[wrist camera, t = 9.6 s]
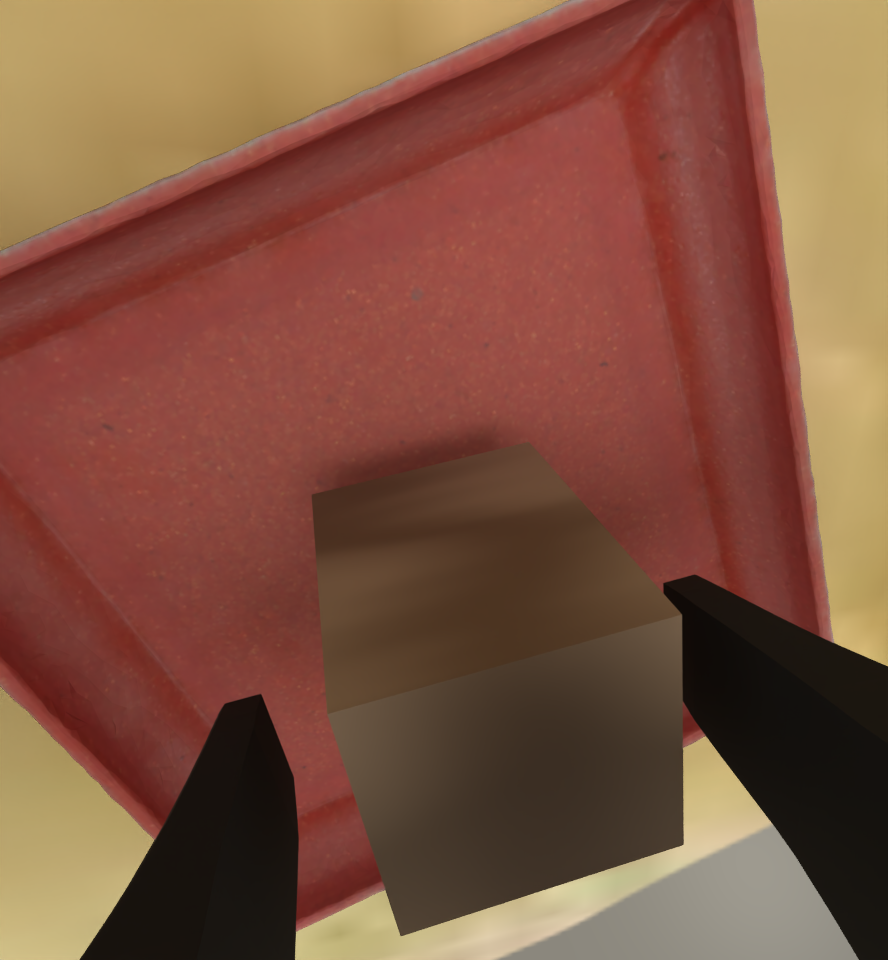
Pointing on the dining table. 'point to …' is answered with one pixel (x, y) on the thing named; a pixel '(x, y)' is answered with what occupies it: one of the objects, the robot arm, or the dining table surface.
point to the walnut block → (495, 683)
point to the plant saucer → (395, 379)
